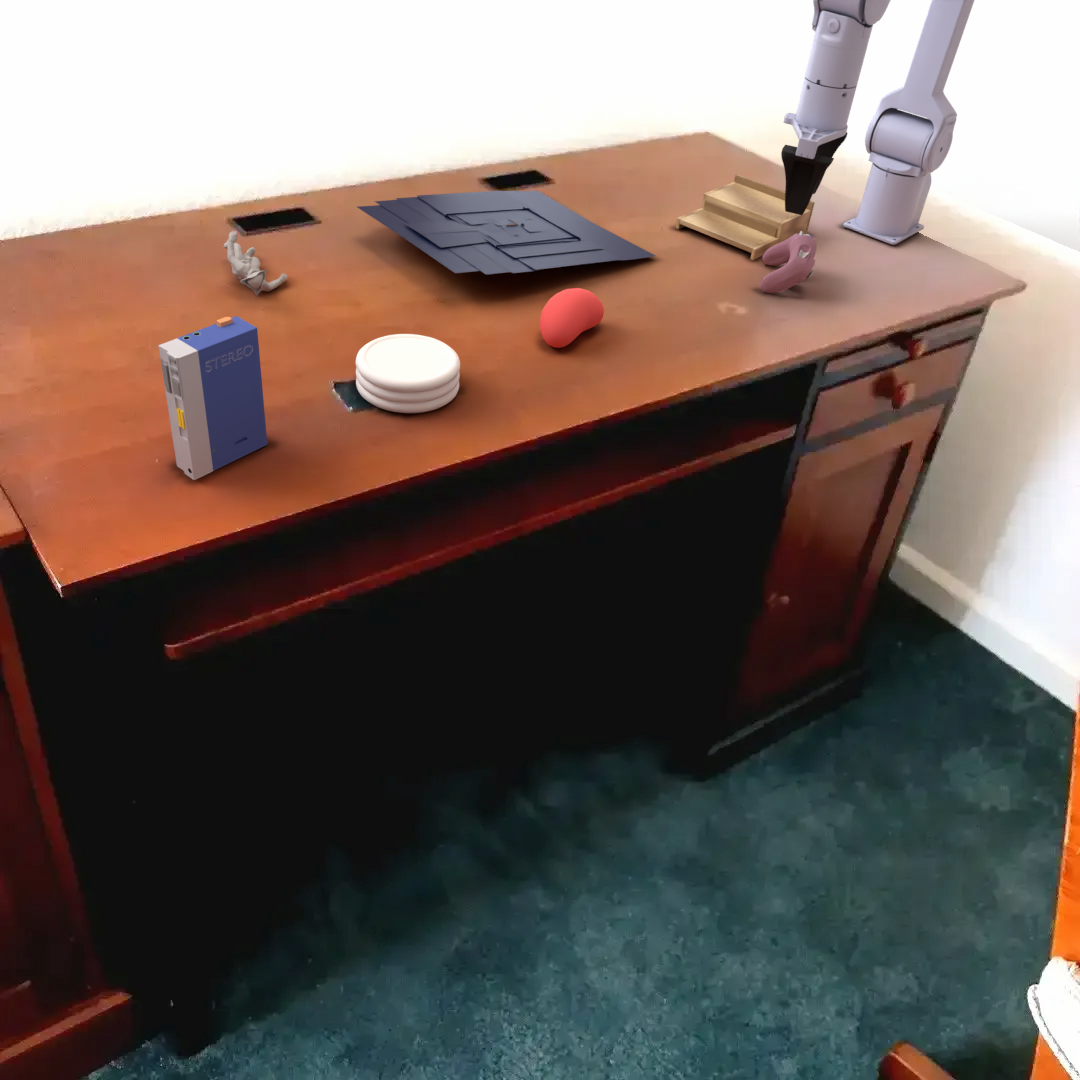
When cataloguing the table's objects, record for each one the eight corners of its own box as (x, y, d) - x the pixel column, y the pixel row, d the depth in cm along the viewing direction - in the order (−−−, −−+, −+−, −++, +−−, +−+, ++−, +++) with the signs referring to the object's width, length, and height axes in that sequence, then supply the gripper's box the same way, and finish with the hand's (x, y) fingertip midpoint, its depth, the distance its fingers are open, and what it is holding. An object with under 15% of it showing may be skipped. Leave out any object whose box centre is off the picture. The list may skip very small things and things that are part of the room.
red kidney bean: (520, 341, 116) (524, 309, 110) (575, 293, 119) (583, 260, 113) (554, 371, 115) (561, 341, 109) (609, 323, 118) (618, 290, 112)
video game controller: (785, 310, 128) (825, 266, 124) (755, 289, 128) (794, 244, 123) (787, 277, 136) (824, 234, 132) (759, 256, 135) (795, 213, 131)
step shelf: (730, 205, 150) (737, 173, 147) (806, 234, 144) (814, 202, 141) (675, 228, 141) (681, 195, 138) (753, 260, 135) (761, 226, 133)
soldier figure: (276, 265, 124) (306, 277, 114) (251, 299, 124) (279, 313, 114) (221, 221, 120) (248, 229, 110) (195, 255, 120) (220, 266, 110)
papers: (346, 223, 130) (348, 193, 128) (532, 209, 148) (537, 183, 146) (461, 303, 116) (466, 272, 114) (652, 277, 134) (659, 249, 132)
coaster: (413, 352, 109) (413, 322, 107) (479, 393, 104) (481, 361, 102) (335, 383, 103) (333, 351, 101) (401, 427, 98) (402, 395, 96)
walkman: (247, 432, 95) (235, 311, 88) (267, 445, 94) (257, 323, 87) (173, 467, 90) (153, 342, 83) (193, 481, 89) (175, 355, 82)
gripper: (807, 59, 122) (779, 175, 131) (781, 89, 112) (753, 214, 120) (868, 71, 121) (836, 188, 129) (848, 103, 110) (815, 228, 118)
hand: (800, 201), depth 124 cm, fingers open, 7 cm apart
